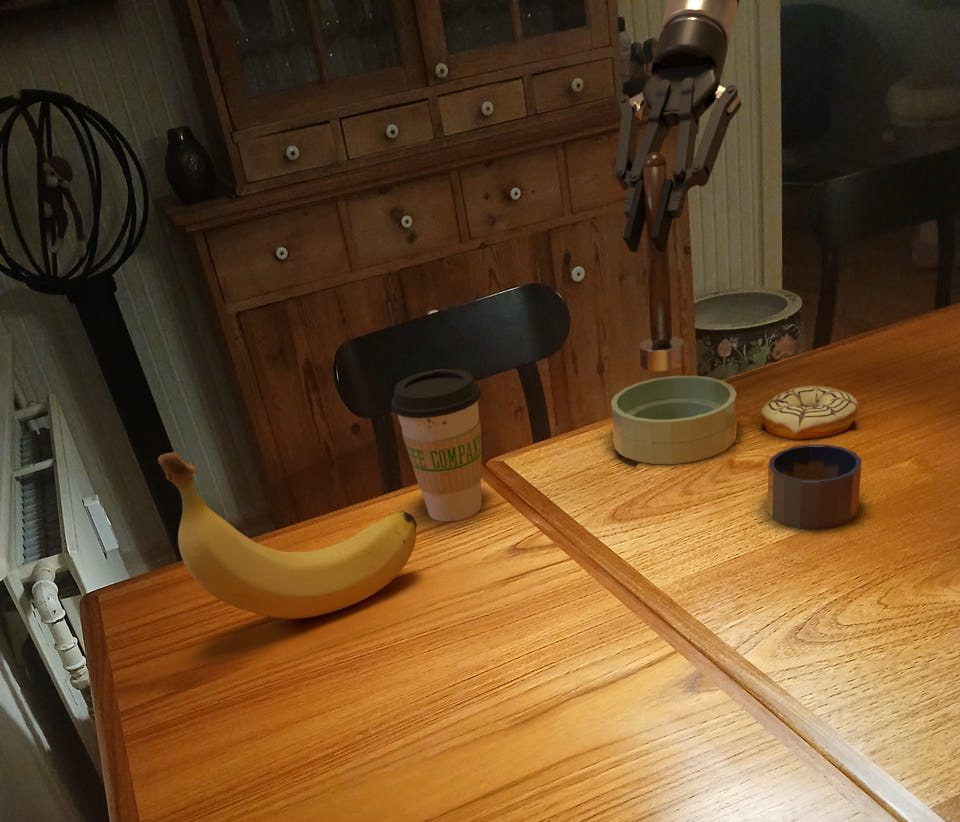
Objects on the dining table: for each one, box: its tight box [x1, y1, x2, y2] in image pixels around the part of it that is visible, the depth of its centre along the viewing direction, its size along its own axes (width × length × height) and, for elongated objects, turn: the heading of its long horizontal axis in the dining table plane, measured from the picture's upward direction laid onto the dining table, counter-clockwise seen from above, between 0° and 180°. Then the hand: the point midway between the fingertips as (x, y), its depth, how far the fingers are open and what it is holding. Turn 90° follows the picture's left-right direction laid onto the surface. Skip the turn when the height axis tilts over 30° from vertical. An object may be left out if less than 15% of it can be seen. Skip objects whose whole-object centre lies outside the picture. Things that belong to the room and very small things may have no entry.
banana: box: [157, 451, 418, 620], centre depth 93 cm, size 23×6×20 cm, turn 117°
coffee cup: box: [390, 368, 483, 523], centre depth 109 cm, size 10×10×15 cm
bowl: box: [610, 375, 738, 465], centre depth 117 cm, size 14×14×6 cm
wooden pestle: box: [639, 152, 685, 372], centre depth 108 cm, size 5×5×22 cm
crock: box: [766, 444, 863, 531], centre depth 98 cm, size 9×9×6 cm
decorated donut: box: [760, 385, 858, 440], centre depth 117 cm, size 10×11×4 cm
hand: (644, 244), depth 103 cm, fingers closed on wooden pestle, 2 cm apart
